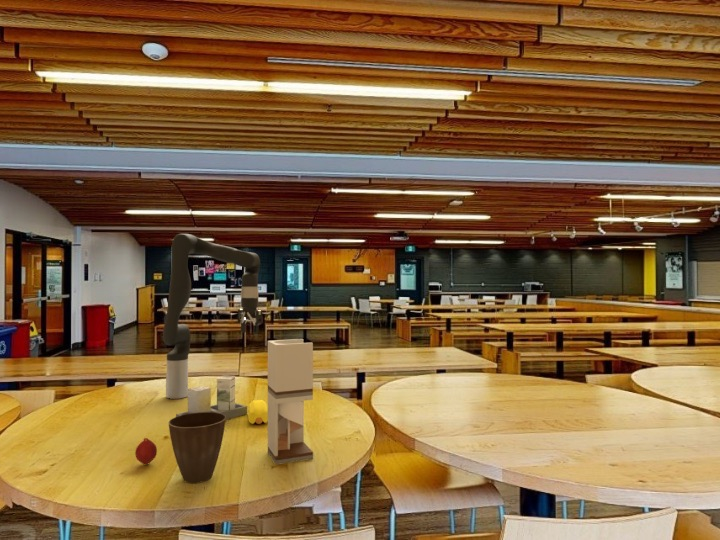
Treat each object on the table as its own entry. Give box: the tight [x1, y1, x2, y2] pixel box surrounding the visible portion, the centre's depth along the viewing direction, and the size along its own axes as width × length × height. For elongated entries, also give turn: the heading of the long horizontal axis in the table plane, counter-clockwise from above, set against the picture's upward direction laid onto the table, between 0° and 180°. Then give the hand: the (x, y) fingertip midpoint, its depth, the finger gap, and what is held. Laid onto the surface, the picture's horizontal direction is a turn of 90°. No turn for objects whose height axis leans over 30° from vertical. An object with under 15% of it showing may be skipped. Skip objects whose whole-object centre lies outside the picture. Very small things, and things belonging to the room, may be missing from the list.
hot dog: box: [247, 399, 268, 425], centre depth 187 cm, size 18×7×8 cm
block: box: [187, 385, 212, 414], centre depth 184 cm, size 6×6×12 cm
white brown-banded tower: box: [267, 338, 314, 465], centre depth 149 cm, size 11×11×35 cm
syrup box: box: [216, 375, 236, 412], centre depth 193 cm, size 6×6×14 cm
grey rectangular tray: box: [175, 402, 248, 421], centre depth 188 cm, size 12×24×3 cm, turn 142°
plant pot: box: [168, 412, 226, 484], centre depth 132 cm, size 15×15×16 cm
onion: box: [134, 437, 158, 465], centre depth 141 cm, size 6×6×8 cm
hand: (249, 333), depth 215 cm, fingers open, 8 cm apart
